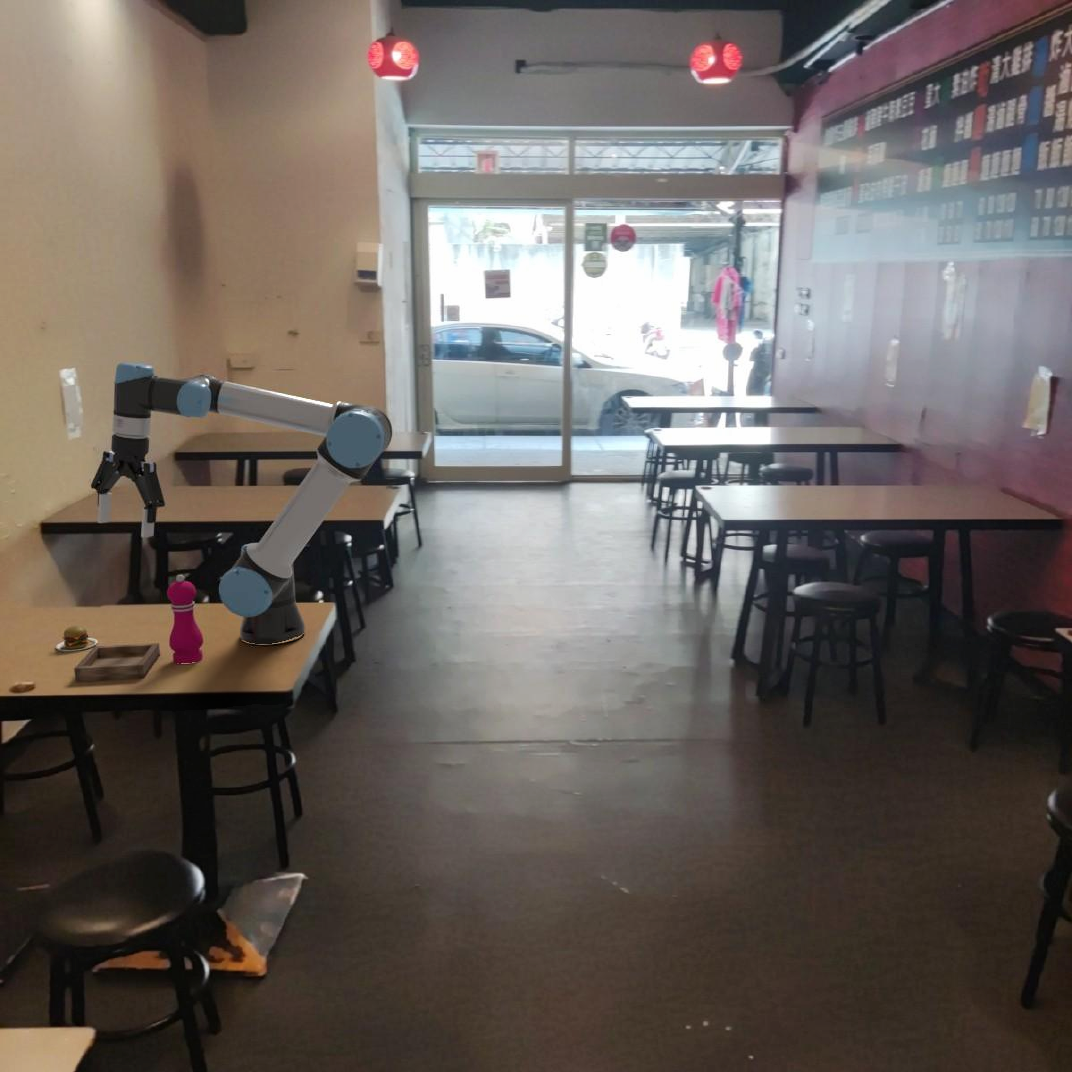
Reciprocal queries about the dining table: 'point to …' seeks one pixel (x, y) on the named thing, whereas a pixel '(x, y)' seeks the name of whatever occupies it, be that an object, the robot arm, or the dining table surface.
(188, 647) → the pepper mill
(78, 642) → the hamburger
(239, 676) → the dining table surface
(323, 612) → the dining table surface
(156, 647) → the walnut tray
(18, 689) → the dining table surface
